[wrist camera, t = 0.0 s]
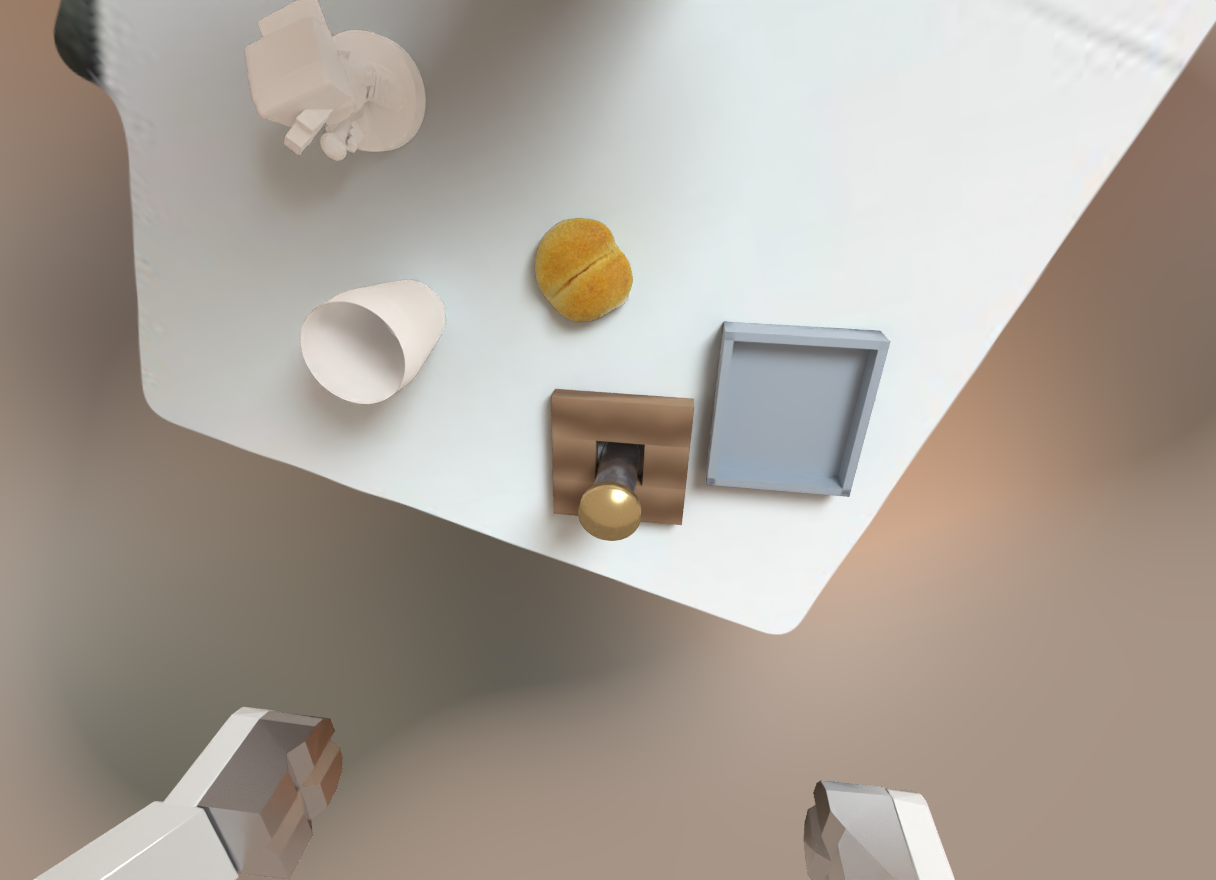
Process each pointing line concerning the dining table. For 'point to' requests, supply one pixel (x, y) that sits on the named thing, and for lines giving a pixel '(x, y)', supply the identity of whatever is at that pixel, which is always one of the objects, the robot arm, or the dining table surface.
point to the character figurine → (333, 83)
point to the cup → (372, 339)
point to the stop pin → (613, 494)
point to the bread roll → (582, 270)
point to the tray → (792, 406)
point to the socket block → (622, 421)
